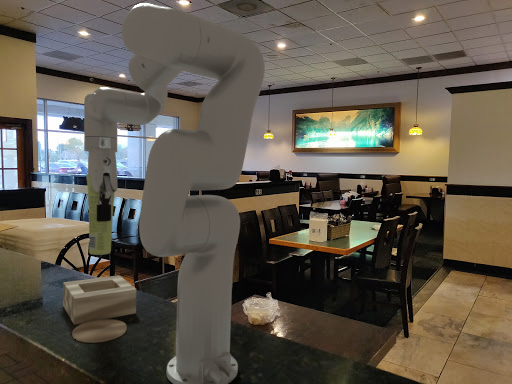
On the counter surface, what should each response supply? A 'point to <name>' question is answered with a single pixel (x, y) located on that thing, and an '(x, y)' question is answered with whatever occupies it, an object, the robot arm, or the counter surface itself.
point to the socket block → (98, 299)
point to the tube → (98, 224)
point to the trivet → (99, 331)
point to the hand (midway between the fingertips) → (100, 219)
